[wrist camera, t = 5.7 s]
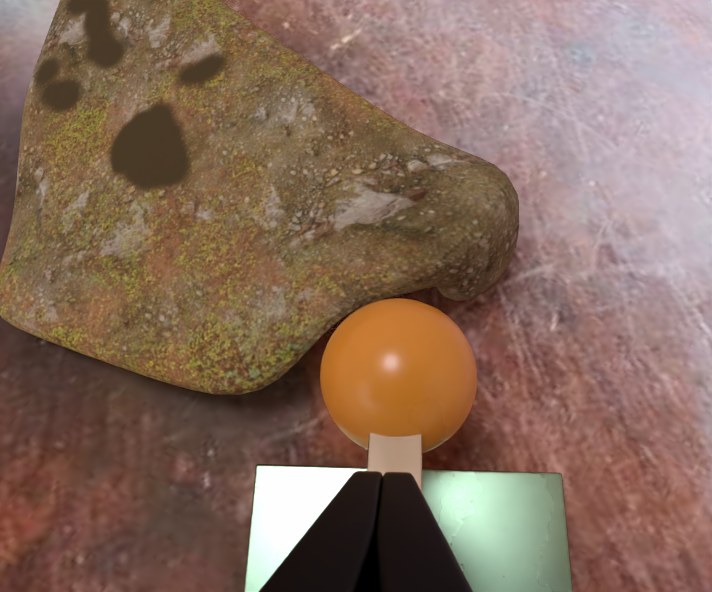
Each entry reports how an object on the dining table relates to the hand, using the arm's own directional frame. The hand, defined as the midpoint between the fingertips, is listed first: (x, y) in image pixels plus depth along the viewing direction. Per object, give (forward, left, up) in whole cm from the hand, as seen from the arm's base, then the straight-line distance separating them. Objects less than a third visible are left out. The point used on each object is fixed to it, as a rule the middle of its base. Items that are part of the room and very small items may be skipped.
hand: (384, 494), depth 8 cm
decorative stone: (+14, +6, -10) cm, 18 cm away
